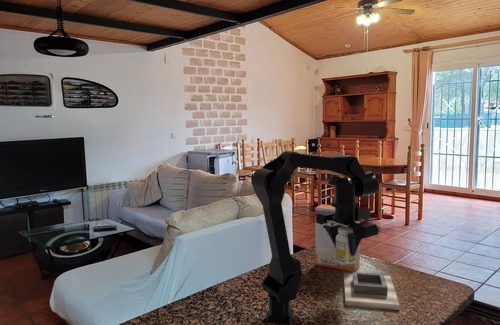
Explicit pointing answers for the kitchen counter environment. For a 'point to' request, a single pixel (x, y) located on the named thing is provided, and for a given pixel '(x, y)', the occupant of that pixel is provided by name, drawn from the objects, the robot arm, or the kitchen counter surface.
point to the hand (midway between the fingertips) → (345, 252)
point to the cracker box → (330, 246)
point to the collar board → (370, 291)
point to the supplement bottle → (343, 246)
